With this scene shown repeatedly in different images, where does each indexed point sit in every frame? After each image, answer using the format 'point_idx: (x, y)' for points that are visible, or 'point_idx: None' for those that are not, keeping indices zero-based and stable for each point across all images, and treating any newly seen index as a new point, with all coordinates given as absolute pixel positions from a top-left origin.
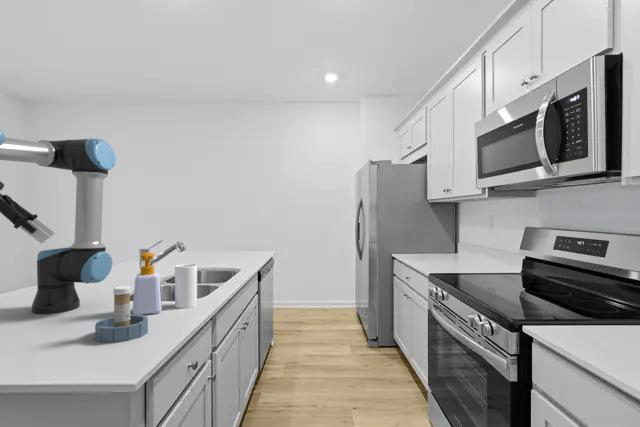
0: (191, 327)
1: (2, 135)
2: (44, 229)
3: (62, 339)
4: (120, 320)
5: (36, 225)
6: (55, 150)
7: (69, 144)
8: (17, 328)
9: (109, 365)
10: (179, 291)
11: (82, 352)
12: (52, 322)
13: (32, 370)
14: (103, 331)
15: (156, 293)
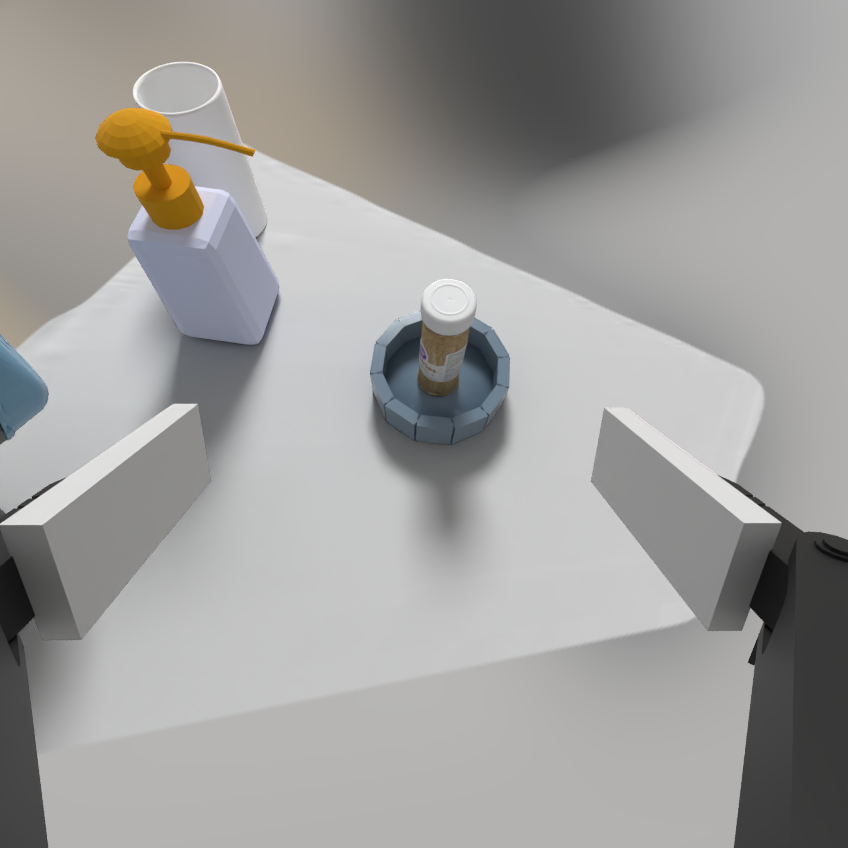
0: (462, 248)
1: None
2: (159, 472)
3: (404, 525)
4: (461, 366)
5: (118, 537)
6: None
7: None
8: (169, 686)
9: (663, 418)
10: (236, 194)
11: (549, 471)
12: (165, 573)
13: (639, 571)
14: (491, 414)
15: (258, 246)
